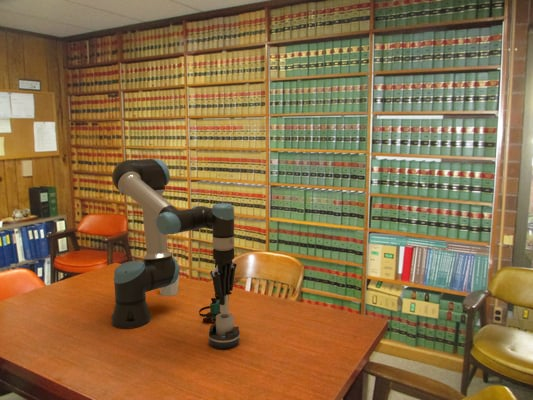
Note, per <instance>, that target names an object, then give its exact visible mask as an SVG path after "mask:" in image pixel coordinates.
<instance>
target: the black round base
mask: <svg viewBox="0 0 533 400" xmlns="http://www.w3.org/2000/svg"><path fill="white" fill-rule="evenodd" d="M208 330H209V331H208V345H209V347H211V348H213V350H219V351H220V350H221V351H225V350H232V349H234V348H237V347H238V346H239V345H240V341H241V340H240V337H241V335H240V334H241V332H240V326H234V330H233V331H232V332H228V333H226V336H219V335H217V334H216V323H213V324H212V325H210V326H209V329H208Z"/></svg>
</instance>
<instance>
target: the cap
mask: <svg viewBox="0 0 533 400" xmlns="http://www.w3.org/2000/svg"><path fill="white" fill-rule="evenodd" d="M234 320H235V315H234V314H233V313H230V312H228V313H227V314H225V313H220V314H218V315H216V334H217V335H219V336H226V333H228V332H232V331H233V330H234V327H235V324H234V323H235V321H234Z"/></svg>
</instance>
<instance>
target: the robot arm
mask: <svg viewBox="0 0 533 400" xmlns="http://www.w3.org/2000/svg"><path fill="white" fill-rule="evenodd" d="M170 177H171V176H170V170H169V168H168V166H167V164H166V163H165V162H164V161H163V160H161V159H158V158H146V159H126V160H123V161H121V162H119V163H118V164H117V165H116V166H115V167H114V169H113V171H112V177H111V178H112V184H113V185H114V187H115V188H116V189H117V191H118V192H120V193H121V194H123V195H125V196H126V195H128V196H129V197H130V198H131V199H132V200H133V201H134V202H136V203H137V205H139V206H140V207H141V210H142V211H141V212H142V218H143V229H144V238H145V246H146V247H145V248H146V253H145V255H144V257H143V261H142V260H133V261H131V260H130V261H127V262H123V263H121V264H119V265H117V266H116V267H115V270H113V271H114V275H113V282H114V283H113V284H114V299H115V304H114V307H113V312H112V315H111V319H110V320H111V325H112V326H113V327H115V328H119V329H134V328H139V327H142V326H145V325H147V324H148V323H149V322H150V321H151V320H152V319H151V318H152V313H151V311H150V308H149V306H148V303H147V300H146V297H147V295H146V293H149V292H151V291H154V290H158V289H160V288H162V287H167V286H168V285H171V284H173V283H175V282H176V280H177V279H178V276H179V277H180V264H179V263H178V260H177V259H176V258H175V257H174V256H173V253H172V252H170V251H169V250H168V237H167V235H175V234H180V233H184V232H188V231H189V232H190V231H195V230H200V229H208V230H212V248H213V249H212V260H213V261H214V262H215V264H214V270H211V271H210V273H209V274H210V276H211V279H212V284H213V290H214V296H215V295H218V296H219V303H220V312H221V313H225V314H227V313H230V310H229V302H230V299H229V298H230V296H231V295H232V292H233V290H234V281H235V274H236V268H237V263H234V262H233V260H234V259H235V248H234V247H235V210H234V206H233V204H231V203H222V202H221V203H214V204H213V205H212V207H207V206H203V205H195V206H193V207H191V208H187V209H182V210H181V209H178V208H177V207H175V206H174V205H173V204H172V203H170V202H169V201H168V200H167V199H165V198H164V197H163V193H165V191H166V186H167V185H168V184H169V182H170V179H171V178H170Z"/></svg>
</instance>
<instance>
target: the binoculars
mask: <svg viewBox="0 0 533 400" xmlns="http://www.w3.org/2000/svg"><path fill="white" fill-rule="evenodd" d="M210 299H211V300H210V301H211V302H210V303H209V306H207V305H206V306H204V307H202V308H200V309H199V310H198V313H199V316H200V317H202V322H203V323H209V322H212V323H213V324H215V323H216V315H218V314H220V313H221V312H220V303H219V296H218V295H215V294H214V297H211V298H210ZM208 309H210V310H209V311H210V312H207V313H201V312H203V311H204V310H208Z"/></svg>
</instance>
